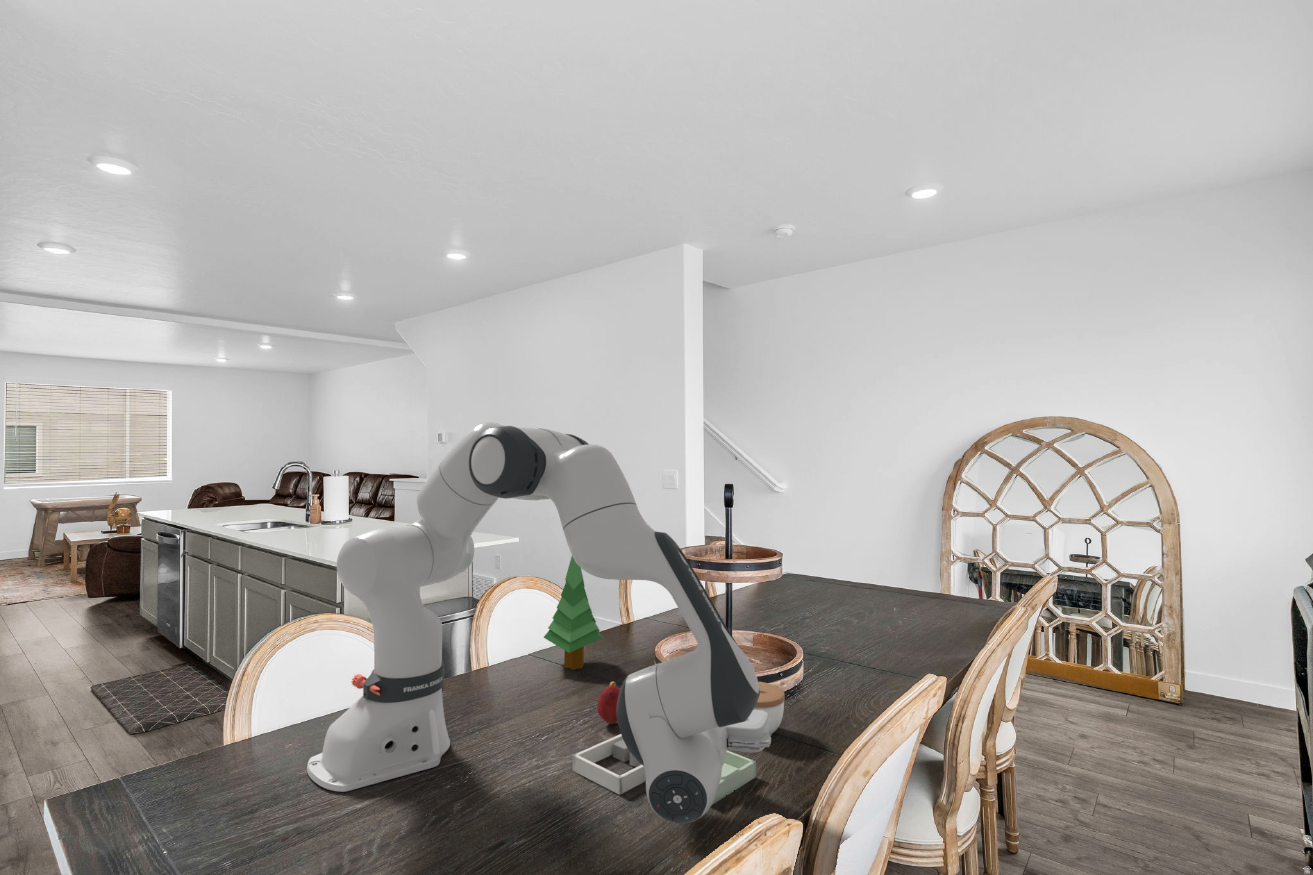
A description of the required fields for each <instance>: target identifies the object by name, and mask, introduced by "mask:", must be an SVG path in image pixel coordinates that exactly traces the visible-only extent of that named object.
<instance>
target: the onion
mask: <svg viewBox="0 0 1313 875" xmlns="http://www.w3.org/2000/svg"><path fill="white" fill-rule="evenodd" d="M620 689H621V688H619V687H617V683H616V682H615V681H610V683H609V684H608V687H606V688H605V689H604V690H602V692H600V694H599V695H598V698H597V703H596V709H597V713H598V715H599V716H600V718H601V719H602V720H603V721H605V722H606V723H607V724H609V725H615V724H616V723H618V722H617V715H616V707H617V701H618V696H619V692H620Z"/></svg>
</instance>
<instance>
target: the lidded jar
mask: <svg viewBox="0 0 1313 875" xmlns="http://www.w3.org/2000/svg"><path fill="white" fill-rule="evenodd" d="M758 685H759V690H760V695H759V698H758V701H757V703H756V705H755V707H754V709H753V710H762V711H765V712H767V713H768V714H769V715H770V734H769V735H770V737H771V736H772V735H773V734H774V733H775V732H776V731H777V730H778V729H779V727H780V725H781V723H782V720H783V716H784V710H785V708H784V707H785V698H786V697H785V696H786V695H785V692H784V689H782V688H781V687H779V686H777V685H775V684H772V683H769V682H768V683H767V682H765V681H764V682H763V681H758ZM771 738H772V737H771Z"/></svg>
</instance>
